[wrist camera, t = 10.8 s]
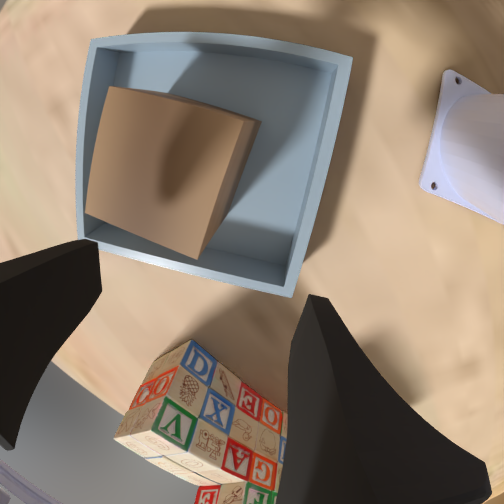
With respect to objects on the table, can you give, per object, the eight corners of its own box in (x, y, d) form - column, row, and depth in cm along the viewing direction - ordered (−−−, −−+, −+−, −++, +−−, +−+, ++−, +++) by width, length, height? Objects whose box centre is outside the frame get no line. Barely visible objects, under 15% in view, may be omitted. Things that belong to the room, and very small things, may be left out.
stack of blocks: (151, 360, 25) (96, 467, 14) (192, 335, 23) (135, 468, 12) (286, 453, 30) (277, 537, 19) (329, 441, 28) (328, 533, 17)
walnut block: (262, 121, 15) (243, 121, 9) (227, 214, 17) (197, 259, 12) (167, 92, 15) (109, 85, 9) (142, 182, 17) (85, 212, 12)
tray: (343, 68, 13) (353, 57, 11) (292, 272, 19) (291, 298, 16) (117, 46, 14) (91, 39, 11) (102, 227, 20) (78, 243, 17)
